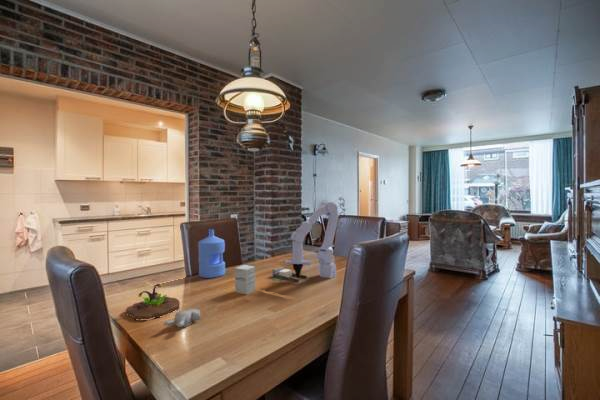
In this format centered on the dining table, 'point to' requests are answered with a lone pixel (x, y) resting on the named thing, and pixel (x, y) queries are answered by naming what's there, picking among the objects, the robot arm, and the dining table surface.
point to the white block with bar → (285, 272)
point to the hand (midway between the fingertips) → (298, 277)
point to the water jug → (211, 256)
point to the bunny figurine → (184, 317)
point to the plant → (153, 305)
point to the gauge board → (291, 280)
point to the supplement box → (245, 279)
